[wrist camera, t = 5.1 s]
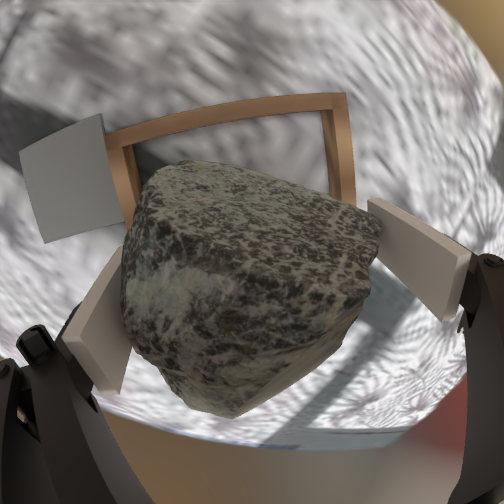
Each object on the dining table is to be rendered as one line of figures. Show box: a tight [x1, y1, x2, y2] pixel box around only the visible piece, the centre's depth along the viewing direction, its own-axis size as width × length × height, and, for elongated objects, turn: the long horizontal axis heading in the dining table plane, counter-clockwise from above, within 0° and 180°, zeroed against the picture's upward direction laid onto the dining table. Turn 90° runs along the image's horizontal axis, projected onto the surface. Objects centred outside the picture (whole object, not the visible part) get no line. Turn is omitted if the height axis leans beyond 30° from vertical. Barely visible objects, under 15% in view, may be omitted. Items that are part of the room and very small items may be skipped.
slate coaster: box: [19, 114, 124, 244], centre depth 23 cm, size 11×11×1 cm
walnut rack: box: [103, 93, 356, 231], centre depth 25 cm, size 16×21×3 cm
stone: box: [120, 160, 383, 419], centre depth 11 cm, size 10×10×10 cm
